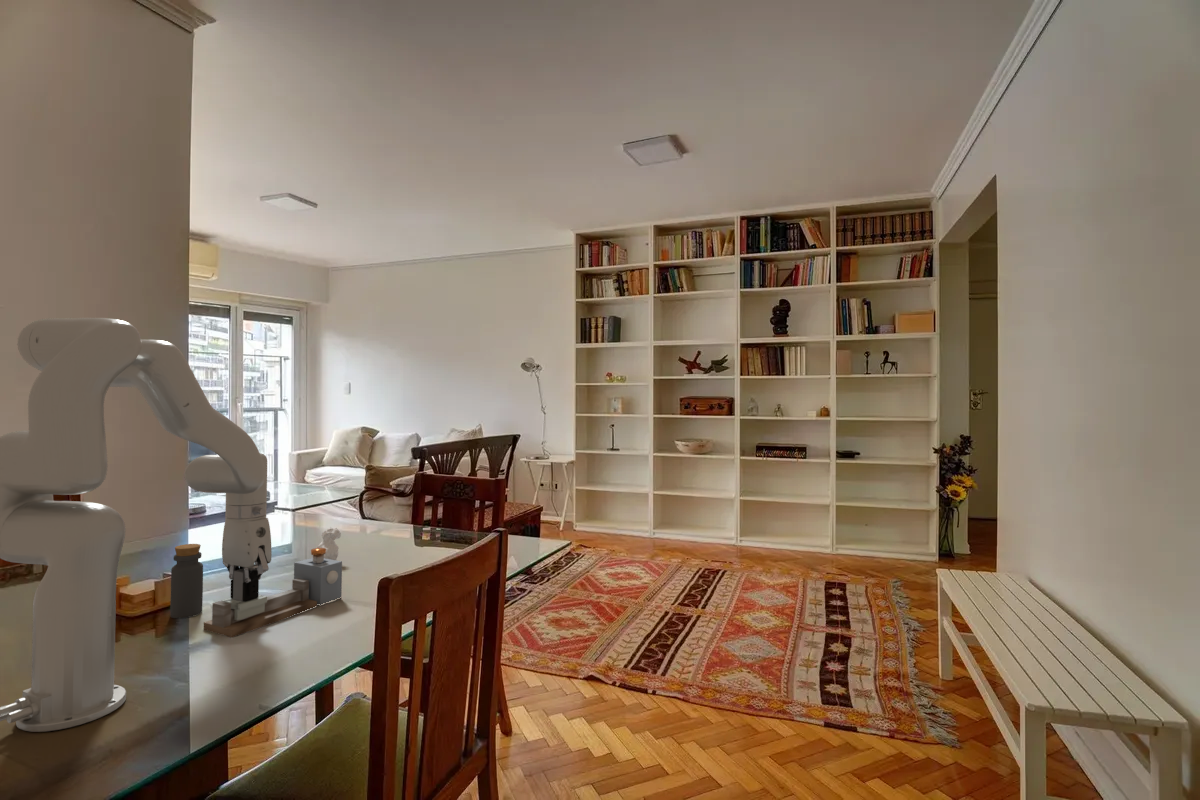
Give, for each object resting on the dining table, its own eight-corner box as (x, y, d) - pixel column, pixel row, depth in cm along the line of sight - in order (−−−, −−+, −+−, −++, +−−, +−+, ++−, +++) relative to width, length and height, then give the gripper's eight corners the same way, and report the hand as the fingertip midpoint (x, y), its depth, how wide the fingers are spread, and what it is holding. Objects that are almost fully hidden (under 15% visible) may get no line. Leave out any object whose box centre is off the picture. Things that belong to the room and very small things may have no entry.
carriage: (239, 621, 124) (240, 575, 124) (221, 616, 126) (221, 571, 126) (266, 612, 129) (267, 568, 129) (248, 607, 132) (249, 565, 132)
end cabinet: (321, 606, 140) (322, 567, 140) (293, 600, 144) (294, 562, 144) (342, 599, 145) (343, 561, 145) (314, 593, 149) (315, 556, 149)
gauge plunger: (317, 574, 142) (317, 551, 142) (307, 573, 144) (308, 550, 144) (328, 571, 145) (328, 548, 145) (318, 569, 147) (319, 547, 147)
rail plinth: (231, 637, 121) (232, 607, 121) (203, 629, 125) (204, 601, 125) (316, 607, 139) (317, 581, 139) (289, 601, 143) (290, 576, 143)
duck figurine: (328, 575, 172) (355, 542, 175) (305, 562, 169) (333, 527, 172) (324, 565, 182) (349, 534, 185) (302, 552, 179) (328, 520, 182)
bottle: (186, 619, 130) (187, 550, 130) (163, 617, 131) (164, 548, 131) (208, 610, 136) (210, 543, 136) (186, 608, 137) (188, 542, 137)
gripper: (288, 512, 128) (286, 599, 128) (238, 505, 135) (236, 588, 135) (255, 518, 121) (253, 610, 121) (203, 510, 128) (202, 597, 128)
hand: (244, 597), depth 128 cm, fingers closed on carriage, 3 cm apart
